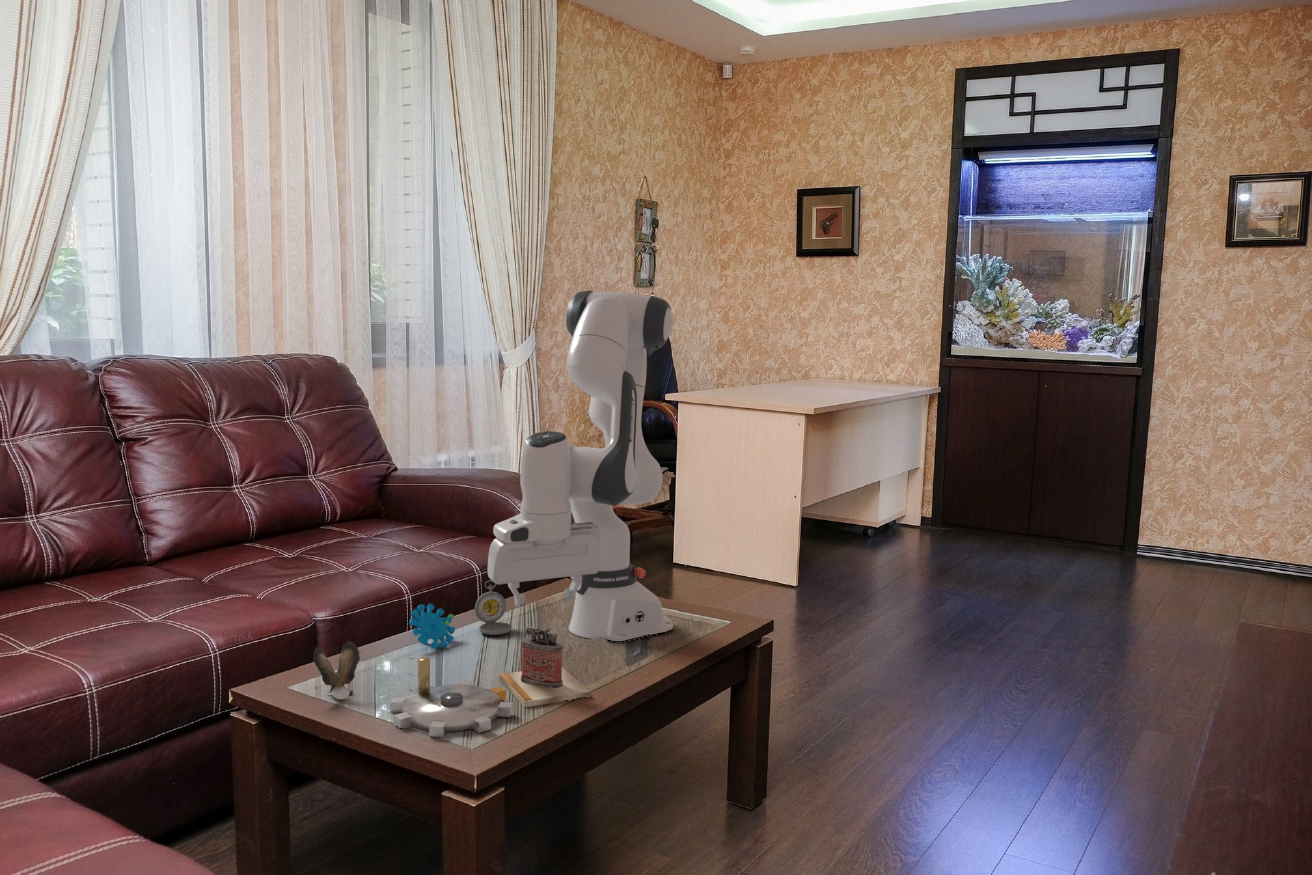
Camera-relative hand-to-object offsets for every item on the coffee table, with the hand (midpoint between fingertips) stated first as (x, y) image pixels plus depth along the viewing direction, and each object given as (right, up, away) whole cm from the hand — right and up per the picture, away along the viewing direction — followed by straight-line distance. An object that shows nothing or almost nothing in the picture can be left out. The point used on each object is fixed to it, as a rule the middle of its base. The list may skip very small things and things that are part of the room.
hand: (545, 602), depth 179 cm
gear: (-23, -14, +22) cm, 35 cm away
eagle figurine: (-35, -16, -5) cm, 39 cm away
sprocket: (-14, -17, -11) cm, 25 cm away
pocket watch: (-14, -11, +34) cm, 38 cm away
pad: (0, -16, +2) cm, 16 cm away
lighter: (-1, -15, +1) cm, 15 cm away
